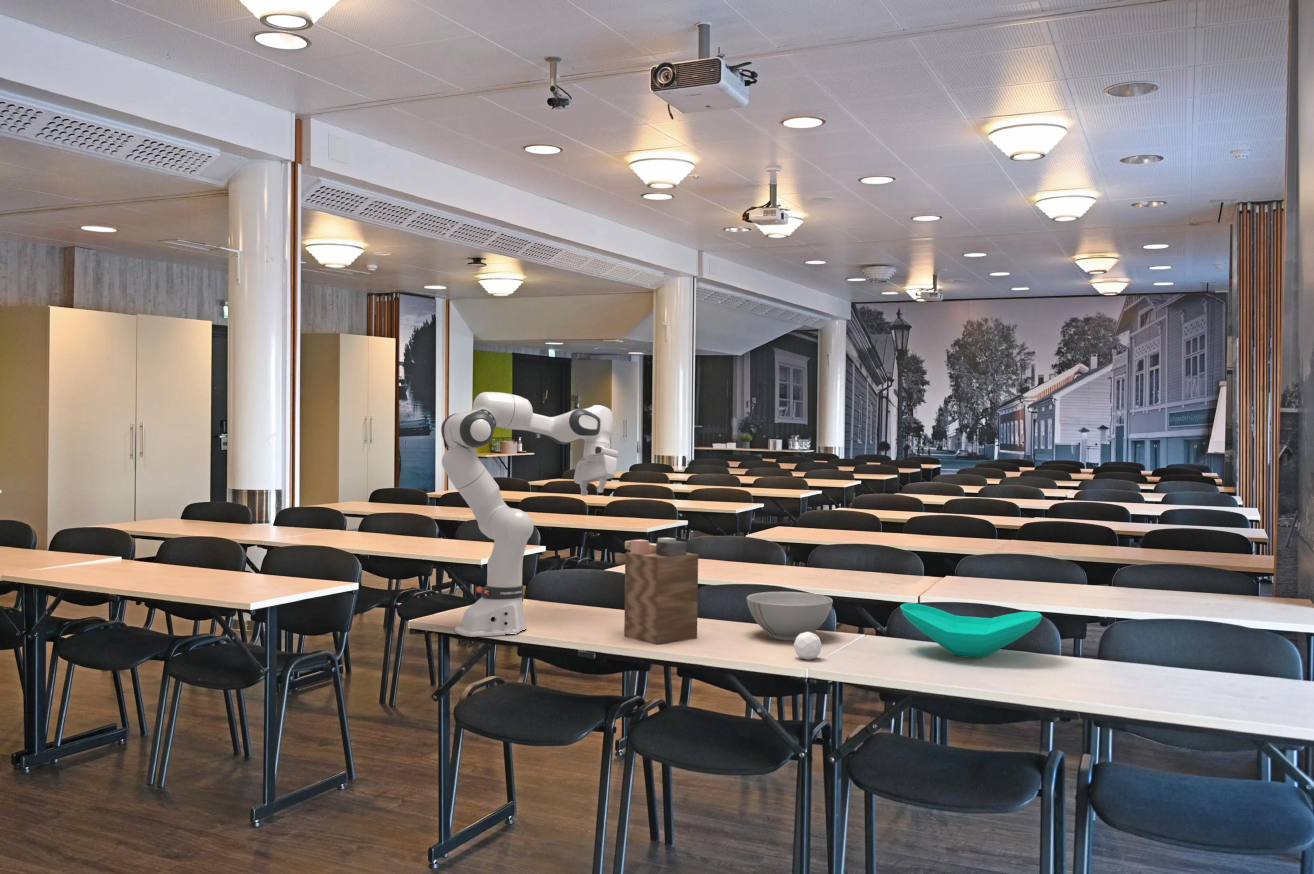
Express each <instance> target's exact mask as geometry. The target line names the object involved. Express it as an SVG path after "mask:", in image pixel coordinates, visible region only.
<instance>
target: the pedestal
mask: <svg viewBox="0 0 1314 874" xmlns="http://www.w3.org/2000/svg"><path fill="white" fill-rule="evenodd" d="M624 554H625V555H624V557H625V559H624V560H625V563H624V564H625V565H624V621H623V622H624V623H623V624H624V628H623V629H624V632H623V633H624V635H623V636H624V637H627V638H629V637H630V638H629V639H633V638H634V640H637V639H638V640H637V641H641V642H645V643H650V644H653V645H657V646H659V645H664V644H671V643H678V642H683V641H689V640H695V639H698V606H699V605H698V604H699V603H698V599H699V597H698V596H699V594H698V593H699V592H698V591H699V589H698V588H699V586H698V585H699V554H698V553H692V552H686V555H682V556H671V557H668V556H661V555H656V554H655V553H649V554H633V553H631V551H627V552H624ZM658 644H659V645H658Z"/></svg>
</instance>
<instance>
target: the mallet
mask: <svg viewBox="0 0 1314 874" xmlns="http://www.w3.org/2000/svg"><path fill="white" fill-rule="evenodd" d="M624 549H625V550H629V551H631V540H625V541H624ZM649 553H655V554H656V555H661V556H668V557H671V556H682V555H686V553H687V541H680V540H676V541H675V540H671V541H659V542H658V541H656V543H655V542H654V543H653V542H649Z"/></svg>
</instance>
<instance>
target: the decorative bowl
mask: <svg viewBox="0 0 1314 874" xmlns="http://www.w3.org/2000/svg"><path fill="white" fill-rule="evenodd" d="M833 603H834V602H833V599H832V597H830V596H826V595H823V594H817V593H810V592H799V591H765V592H757V593H756V592H755V593H751V594H748V595H747V596H746V604H747V606H748V608H749V609H748V610H749V612H750V614H751V616H752V617H753V620H755V622H756V623H757V625H758V626H759V627H760V628H761V629H763V630H764V631H766V632H767V633H768V635H769V637H770V638H771V639H775V640H780V641H795V640H796V638H797V637H798V635H799V634H800V633H804V632H810V633H814V632H816V631H817V630H819V628H820V627H821V626H822V625H823V623H825V621H826V619H827V618H828V616H829V615H830V613H831V609H832V606H833Z"/></svg>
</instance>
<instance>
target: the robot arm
mask: <svg viewBox="0 0 1314 874" xmlns="http://www.w3.org/2000/svg"><path fill="white" fill-rule="evenodd" d="M496 427H497V428H503V429H507V430H508V429H509V430H519V431H526V432H529V433H533V434H536V435H537V434H538V435H541V436H545V437H547V438H549V439H551V440H552V441H553V442H555V443H556V444H560V445H568V444H570V443H571V442H573V441H574V442H575V441H577V440H580V439H582V440H584V445H583V446H584V447H583V453H582V457H581V458H580V460H579V461H578V462H577V464H576V466H575V470H574V476H573V482H574V483H575V484H578V485H579V488H580V496H582V497H587V496H588V493H589V490H587V487H588V484H591V483H594V482H595V483H596V482H599V483H598V486H596V492H597V493H599V494H601V493H604V489H605V486H606V484H607V482H608V479H613V478H614V477H615V475H616V472H617V466H618V465H617V464H618V460H617V458H618V457H619V451H618V450H615V449H612V444H611V438H612V436H613V431H614V429H613V428H614V414H613V411H612V410H611V408H609V407H608V406H604V405H599V404H594V405H591V406H590V407H587V408H577V409H573V410H570V411H568V412H565V413H562V414H558V415H555V416H547V415H543V414H538V413H534V411H533V406H532V404H531V402H530V401H529V399H527V398H524V397H522V396H520V395H516V394H512V393H507V392H501V391H500V392H497V391H483V392H481V393H478V395H477V396H475V399H474V400H473V404H472V408H471V410H470V411H469V412H468V411H465V412H457V413H453V414H450V415H448V416H447V417H446V418H445V419H444V420H443V422H442V423H441V428H440V432H441V437H442V440H443V446H444V448H445V449H446V451H445V452H444V454H443V456H442V458H441V464H442V468H443V470H444V471H445V473H446V475H447V477H448V479H449V480H450V482H451V484H452V485H453V486H454V488H455V489H456V491H457V492H458V493H459V495H460V496H461V497H462V499H463V500H464V501H465V502H466V504H467V505H468V507H469V508H470V510H471V511H472V513H473V515H474V516H473V517H475V520H476V522H477V525H478V528H479V531H480V532H481V533H482V534H483V535H484V536H486V537H487V538H488V539H489V540H490V539H491V540H493V541H494V543H493V547H492V552H491V554H490V556H489V558H488V560H487V567H486V569H487V571H486V572H487V574H486V576H487V577H486V585H485V586H484V587H483V586H477V587H476V589H475V590H476V592H477V593H478V594H481V597H480V598H478V600H476V601H475V603H473V604H472V605H471V606H469V607H468V608H467V609H465V611H464V612H463V616H462V621H461V625H460V626H459V625H458V626H455V627H454V632H455V633H456V634H458V635H460V636H463V637H469V638H470V637H473V638H475V637H476V638H477V637H493V636H506V635H505V634H510V633H518V632H519V631H522V630H525V629H526V628H527V625H526V621H525V615H524V608H523V607H524V605H523V602H524V596H525V595H524V594H525V592H524V584H523V564H524V563H523V562H524V555H525V551H526V547H527V544H528V541H529V539H530V538H531V537H532V535H533V533H534V528H535V527H534V526H535V525H534V521H533V519H532V518H531V516H530V515H529V514H527V513H526V512H525V511H523V510H521V509H519V508H513V507H510V506H508V505H507V503H506V502H505V500H504V499H503V496H502V494H501V492H500V486H499V485H498V483H497V481H495V479H494V477H493V476H492V475H491V473H490V472H489V471H488V470H487V468H486V467H485V465H484V464H483V463H482V462H481V460H480V459H479V456H478V454H477V448H481V447H484V446H486V445H487V444H488V443H489V442H490V441H491V440H492V438H493V437H494V436H493V435H494V432H495V428H496ZM527 629H528V628H527ZM527 629H526V630H527ZM526 630H525V631H526ZM522 632H523V631H522Z"/></svg>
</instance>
